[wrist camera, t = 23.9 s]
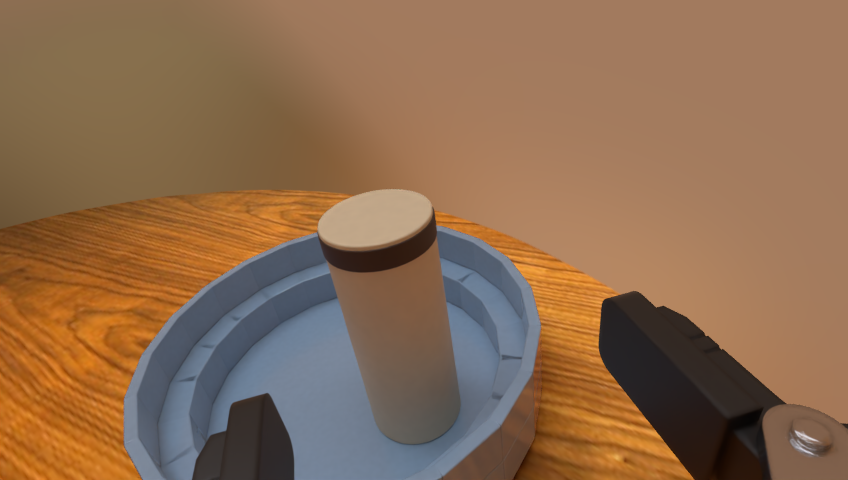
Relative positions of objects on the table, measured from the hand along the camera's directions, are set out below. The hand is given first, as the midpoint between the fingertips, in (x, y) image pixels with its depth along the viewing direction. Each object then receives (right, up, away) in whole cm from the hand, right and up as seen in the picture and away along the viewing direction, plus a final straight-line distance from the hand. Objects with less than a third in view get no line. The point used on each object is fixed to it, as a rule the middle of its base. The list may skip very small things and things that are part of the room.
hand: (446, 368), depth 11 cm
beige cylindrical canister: (-1, -6, +14) cm, 16 cm away
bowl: (-4, -6, +17) cm, 19 cm away
